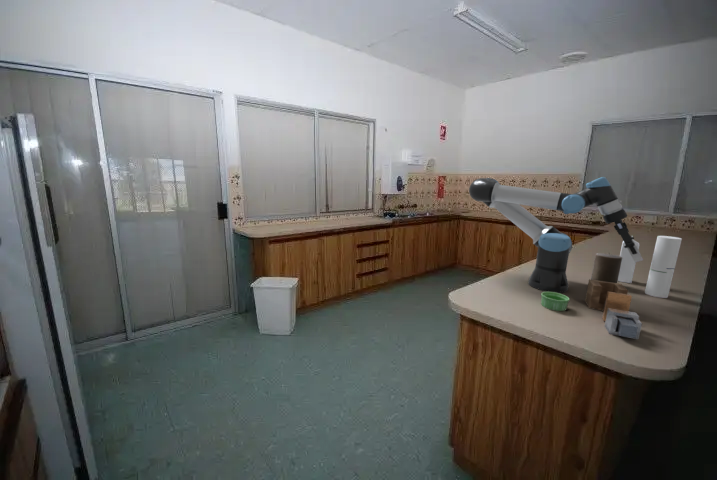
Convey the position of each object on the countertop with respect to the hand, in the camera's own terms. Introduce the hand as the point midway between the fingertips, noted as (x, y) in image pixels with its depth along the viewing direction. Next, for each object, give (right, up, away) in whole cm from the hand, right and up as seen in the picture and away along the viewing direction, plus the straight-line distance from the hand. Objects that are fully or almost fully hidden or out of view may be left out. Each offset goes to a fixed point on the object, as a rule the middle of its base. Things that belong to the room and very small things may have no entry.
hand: (637, 257), depth 128 cm
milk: (+12, -12, +21) cm, 28 cm away
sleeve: (-33, -22, -31) cm, 50 cm away
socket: (-23, -18, -11) cm, 32 cm away
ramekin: (-43, -18, -12) cm, 48 cm away
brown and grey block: (-32, -21, -27) cm, 47 cm away
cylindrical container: (+11, -16, +4) cm, 20 cm away
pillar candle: (-2, -13, +16) cm, 21 cm away
